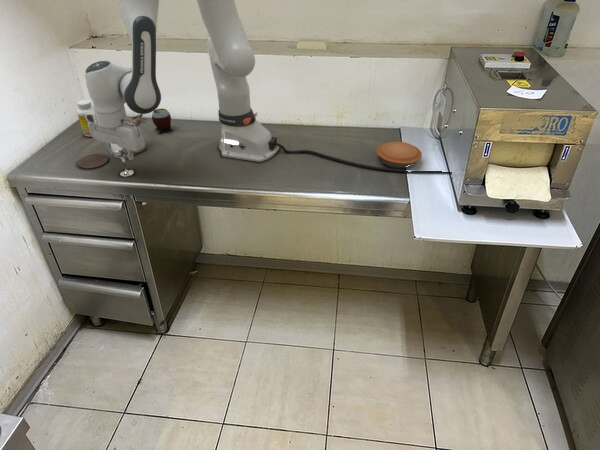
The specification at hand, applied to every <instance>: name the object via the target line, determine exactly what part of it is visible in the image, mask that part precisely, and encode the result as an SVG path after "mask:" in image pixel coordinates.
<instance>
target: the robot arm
mask: <svg viewBox="0 0 600 450" xmlns="http://www.w3.org/2000/svg"><path fill="white" fill-rule="evenodd" d="M116 1H117V7H118V8H117V9H118V13H119V17H120V19H121V20H122V22H123V24H124V26H125V28H126V31H127V33H128V36H129V38H130V44H131V67H125V66H121V65H117V64H114V63H112V62H111V61H108V60H100V61H99V60H98V61H96V62H92V63H91V64H90V65H89V66H87V68H86V69H85V70H84V71H85V72H84V77H85V83H86V88H87V92H88V95H89V97H90V100H91V102H92V104H93V105H92V107H93V108H94V110H93V111H91V112H89V113H87V114H85V118H86V120H87V121H88V127H89V130H90V133H91V136H92V137H91V138H93V139H94V140H95V141H97V142H101V143H104V144H105V146H106V148H107V149H108V150H109V152H110V155H112V156H113V154H112V152H111V143H114V144H117V145H118V146H119V147H121V148H125V149H126V151H128V154H127V155H126V157H127V158H126V160H128V161H132V160H134V159H135V155H133V153H134V151H135V152H139V151H140V150H142V149H144V148H145V147H146V143H145V139H144V136H143V134H142V131H141V129H140V128H138V127H137V126H136V125H135V124H134V123H133V122H129V121H128V119H127V118H128V115H127V111H126V107H125V104H126V106H127V107H128V108H129V110H131V111H132V112H134V113H136V114H138V115H140V114H143V115H147V114H150V113H153V111H154V110H156V109H158V107H159V106H160V105H161V101H162V92H161V91H160V90H161V89H160V87H159V84H158V81H157V30H158V29H157V28H158V17H159V8H160V0H116ZM196 2H197V6H198V10H199V12H200V16H201V20H202V22H203V24H204V26H205V28H206V31H207V33H208V36H209V37H208V38H207V41H206V49H207V53H208V56H209V61H210V66H211V70H212V74H213V79H214V83H215V87H216V93H217V101H218V112H217V113H218V121H219V123H220V137H219V144H218V149H219V150H220V152H221V156H222V157H223V158H230V159H236V160H244V161H249V162H250V161H251V162H257V163H261V162H264V161H267V160H269V159H271V158H272V157H274V156H275V155H276V154H277V153H278V152H279V150H280V149H281V150H282V151H283V152H284V153H286V154H290V155H291V154H311V155H316V156H318V157H320V158H321V157H322V158H325V159H328V160H332V161H335V162H339V163H342V164H346V165H351V166H355V167H359V168H364V169H370V170H376V171H382V172H383V171H384V172H392V173H393V172H394V173H406V174H407V173H408V171H406V170H407V169H405V168H404V169H397V168H392V167H382V166H376V165H375V166H374V165H369V164H364V163H360V162H359V163H358V162H354V161H349V160H346V159H342V158H338V157H335V156H331V155H327V154H324V153H321V152H317V151H315V150H309V149H301V150H288V149H286V148H285V146H284V145H283V144H281V143H279V142H278V137H277V136H273V135H272V133H271V132H270V130H268V129H267V128H266V127H265V126H264V125H262V124H261V123H260V122H259V121H258V119H256V117H257V116H258V112H255V113H254V110H253V109H252V107H251V106H252V105H251V92H250V85H249V83H248V79H247V76H249V75H250V74H251V73H252V72H253V70H254V68H255V65H256V57H255V54H254V52H253V49H252V47H251V45H250V43H249V40H248V37H247V34H246V31H245V28H244V25H243V23H242V21H241V18H240V15H239V12H238V8H237V4H236V0H196ZM139 153H140V152H139ZM411 172H412V173H411V174H449V173H448V172H442V171H411Z"/></svg>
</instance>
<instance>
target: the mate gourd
mask: <svg viewBox="0 0 600 450" xmlns="http://www.w3.org/2000/svg"><path fill="white" fill-rule="evenodd" d="M151 113H152V114H151V121H152V123H153V124H154V126H155V127H156V131H159V134H160V135H161V134H163V133H164V132H172V129H171V127H172V123H171V122H172V116H171V113H170V112H169V111H168V109H167V108H156V109H155V110H154V111H153V112H151Z"/></svg>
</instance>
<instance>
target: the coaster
mask: <svg viewBox="0 0 600 450" xmlns="http://www.w3.org/2000/svg"><path fill="white" fill-rule="evenodd" d="M108 163H109V157H108V156H107V155H106V154H102V153H95V154H89V155H87V156H84V157H81V158H80V159H79V160H78V161H77V166H78V167H79V168H80V169H81V170H93V169H94V170H95V169H98V168H101V167H104V166H105V165H106V164H108Z"/></svg>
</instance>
